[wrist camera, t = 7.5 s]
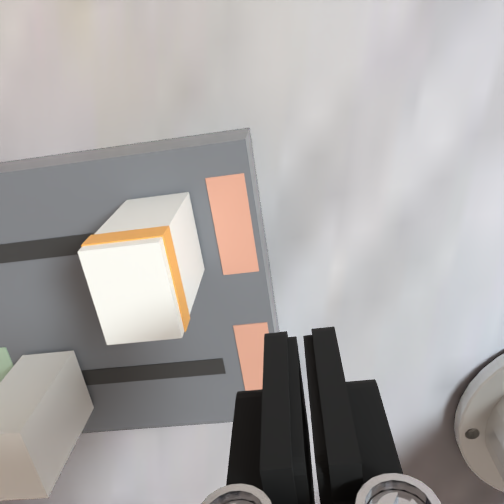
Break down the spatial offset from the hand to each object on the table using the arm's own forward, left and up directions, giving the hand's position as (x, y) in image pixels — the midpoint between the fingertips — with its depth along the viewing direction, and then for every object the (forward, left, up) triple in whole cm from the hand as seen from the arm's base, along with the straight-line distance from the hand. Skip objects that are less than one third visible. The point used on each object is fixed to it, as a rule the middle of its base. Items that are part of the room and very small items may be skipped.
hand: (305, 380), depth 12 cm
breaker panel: (+10, +4, -15) cm, 19 cm away
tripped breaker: (+6, 0, -12) cm, 13 cm away
